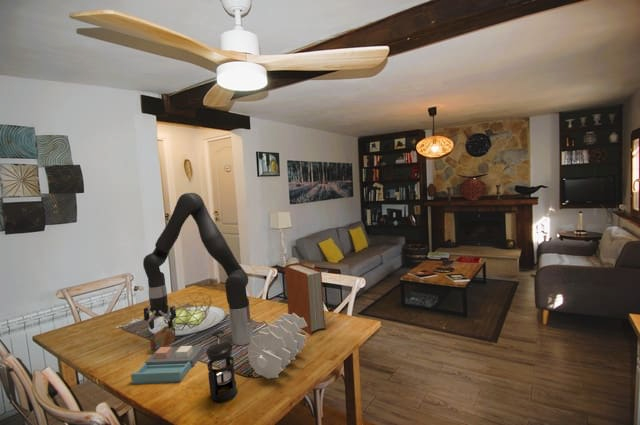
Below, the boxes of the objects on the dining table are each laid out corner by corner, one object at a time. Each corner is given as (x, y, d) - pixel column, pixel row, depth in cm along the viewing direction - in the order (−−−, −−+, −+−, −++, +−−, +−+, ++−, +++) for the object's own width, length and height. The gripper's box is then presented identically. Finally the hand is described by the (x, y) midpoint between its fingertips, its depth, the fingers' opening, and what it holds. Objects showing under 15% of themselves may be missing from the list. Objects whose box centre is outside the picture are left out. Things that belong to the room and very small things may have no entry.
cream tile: (192, 351, 145) (192, 345, 145) (187, 357, 140) (187, 351, 140) (181, 351, 145) (180, 346, 145) (176, 357, 140) (175, 352, 140)
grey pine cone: (254, 389, 126) (286, 353, 149) (290, 378, 119) (317, 342, 142) (232, 346, 127) (267, 317, 150) (266, 333, 120) (297, 304, 142)
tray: (191, 367, 138) (190, 358, 137) (180, 382, 128) (179, 372, 127) (146, 369, 138) (145, 360, 138) (132, 384, 128) (131, 374, 128)
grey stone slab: (204, 352, 150) (203, 345, 149) (192, 367, 138) (192, 360, 137) (160, 354, 151) (159, 347, 150) (145, 369, 139) (144, 362, 138)
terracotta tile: (172, 352, 145) (171, 346, 145) (166, 358, 140) (166, 352, 140) (161, 352, 146) (160, 347, 145) (155, 358, 141) (154, 353, 140)
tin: (156, 355, 150) (154, 337, 149) (150, 354, 151) (147, 337, 150) (176, 339, 165) (175, 322, 164) (171, 339, 165) (169, 322, 164)
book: (325, 330, 163) (321, 270, 160) (311, 335, 159) (306, 274, 156) (301, 316, 182) (297, 262, 179) (288, 320, 178) (283, 265, 175)
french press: (220, 383, 125) (214, 324, 123) (243, 386, 122) (237, 326, 120) (201, 404, 114) (194, 340, 111) (226, 407, 111) (219, 341, 109)
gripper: (176, 291, 159) (179, 324, 160) (147, 292, 159) (151, 325, 161) (169, 297, 151) (172, 331, 153) (138, 298, 152) (142, 332, 153)
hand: (161, 328), depth 157 cm, fingers open, 8 cm apart
